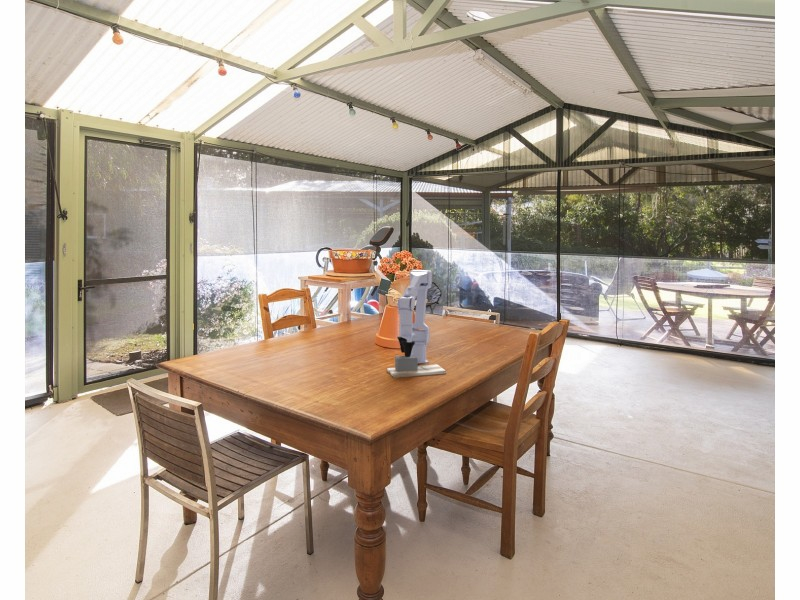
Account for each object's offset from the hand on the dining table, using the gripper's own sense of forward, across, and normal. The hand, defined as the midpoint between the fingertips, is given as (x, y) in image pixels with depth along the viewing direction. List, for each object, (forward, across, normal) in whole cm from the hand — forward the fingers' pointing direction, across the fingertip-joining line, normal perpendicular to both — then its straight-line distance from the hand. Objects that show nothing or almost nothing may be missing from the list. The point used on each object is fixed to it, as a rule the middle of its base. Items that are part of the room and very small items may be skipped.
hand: (405, 354), depth 216 cm
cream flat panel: (+8, 0, -5) cm, 10 cm away
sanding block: (+7, 0, 0) cm, 7 cm away
